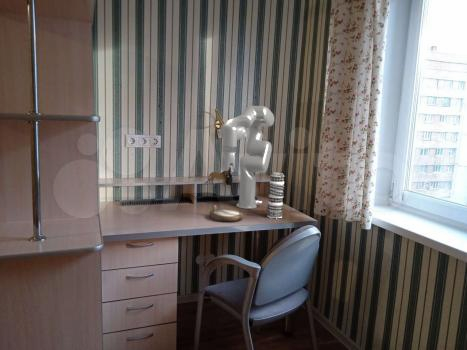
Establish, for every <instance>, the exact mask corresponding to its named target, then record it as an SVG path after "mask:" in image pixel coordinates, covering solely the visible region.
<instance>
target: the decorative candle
mask: <svg viewBox="0 0 467 350" xmlns="http://www.w3.org/2000/svg"><path fill="white" fill-rule="evenodd" d="M269 179H270V180H269V181H268V184H267V186H268V190H267V191H268V204H267V210H266V212H267V213H266V217H267V218H268V217H269V218H268V219H272V218H276V219H275V220H278V219H277V218H281V219H282V218H283V213H284V212H283V209H284V208H283V207H284V205H283V204H284V203H283V202H284V201H283V198H284V197H285V192H284V191H285V190H286V189H285V187H286V186H285V175H284V173H282V172H278V171H274V172H272V173H271V174H270V175H269Z"/></svg>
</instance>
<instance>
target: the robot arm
mask: <svg viewBox="0 0 467 350" xmlns="http://www.w3.org/2000/svg"><path fill="white" fill-rule="evenodd" d="M274 122H275V115H274V114H273V112H272V111H271V109H269V108H268V107H267V106H265V105H249V106H247V107H246V108H245V109H244V110H243V111H242V112H241V114H240V115H238V116H235V117H233V118H229V119H228V120H226V121H225V122H224V123H223V125H221V128H220V130H219V135H220V136H221V138H222V148H221V153H222V157H221V166H220V167H221V168H220V169H221V170H222V172H223V171H225V172H227V178H226V182H225V184H226V186H232V185H233V181H234V180H233V178H234V172H235V169H236V154H237V148H238V146H237V145H238V141H242V140H244V139H245V138H247V132H248V131H249V135H248V138H247V142H246V146H245V152H246V154H247V155H244V156H242V157H240V159H239V172H240V173H239V175H240V177H239V178H240V179H239V196H238V197H239V199H238V203H236V207H237V208H239V209H244V210H252V209H253V210H254V209H257V207H258V206H257V205H262V204H263V201H262V200H256V197H255V196H256V184H257V178H256V176H255V174H254V173H266V172H267V170H268V168H269V164H270V162H271V161H270V159H271V156H272V151H273V146H272V143H271V142H269V141H268V140H263V138H264V134H263V132H262V130H261V128H260V127H272V126H273V125H274V124H275V123H274ZM247 129H248V131H247ZM229 170H230V171H229Z"/></svg>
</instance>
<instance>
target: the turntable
mask: <svg viewBox="0 0 467 350" xmlns="http://www.w3.org/2000/svg"><path fill="white" fill-rule="evenodd" d="M209 217H210V219H213V220H215V221H220V222H221V221H222V222H236V221H240V220H242V219H243V217H244V213H243V212H242V211H239V210H237V209H231V208H229V209H228V208H217V205H216V204H212V210H210V211H209Z"/></svg>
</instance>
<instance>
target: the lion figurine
mask: <svg viewBox="0 0 467 350" xmlns="http://www.w3.org/2000/svg"><path fill="white" fill-rule="evenodd" d="M229 171H230V170H229ZM226 178H227V172H225V171H223V170H222V172H216V171H213V172H210V173H209V175H208V178H207V181H206V182H205V184H211V185H212V186H215V183H214V181H215V179H216V180H218V181H222V185H223V186H224V187H226V186H227V185H226V183H225V182H226Z"/></svg>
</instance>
